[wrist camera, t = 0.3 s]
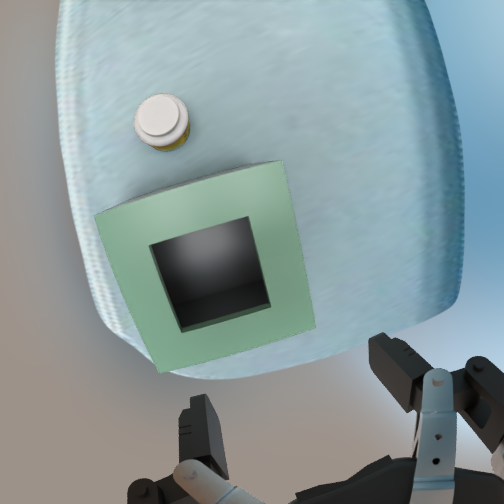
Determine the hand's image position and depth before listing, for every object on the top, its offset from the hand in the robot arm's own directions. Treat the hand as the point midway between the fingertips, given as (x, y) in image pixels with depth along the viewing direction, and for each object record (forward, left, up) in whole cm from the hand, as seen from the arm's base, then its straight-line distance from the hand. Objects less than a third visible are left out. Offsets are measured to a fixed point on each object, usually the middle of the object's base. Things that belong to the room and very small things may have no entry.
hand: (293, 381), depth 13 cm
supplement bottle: (-16, -4, -28) cm, 32 cm away
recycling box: (-1, -3, -28) cm, 28 cm away
